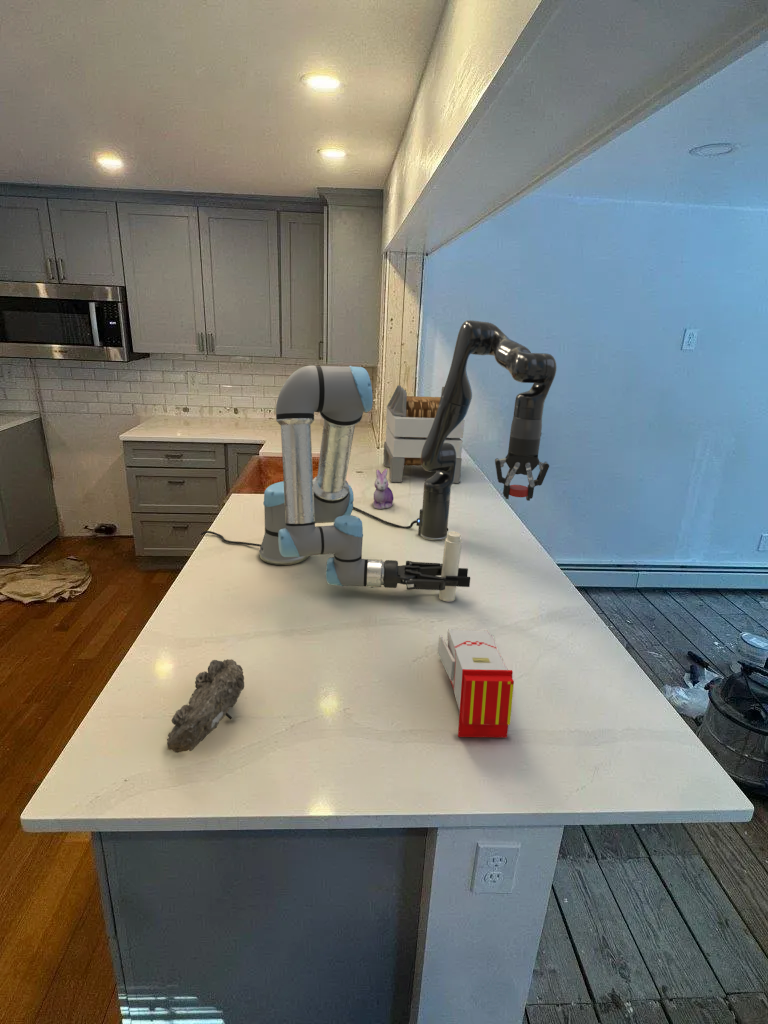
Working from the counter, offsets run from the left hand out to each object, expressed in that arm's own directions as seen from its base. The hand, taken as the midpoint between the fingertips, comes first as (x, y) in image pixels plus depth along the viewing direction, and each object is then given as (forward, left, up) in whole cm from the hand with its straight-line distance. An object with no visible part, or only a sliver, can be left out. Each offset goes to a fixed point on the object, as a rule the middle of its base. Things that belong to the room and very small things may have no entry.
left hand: (468, 577), depth 155 cm
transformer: (-60, +110, -7) cm, 126 cm away
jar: (-5, -2, -7) cm, 8 cm away
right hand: (+9, +6, +23) cm, 25 cm away
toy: (+13, -39, -7) cm, 42 cm away
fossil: (-28, -70, -7) cm, 76 cm away
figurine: (-54, +57, -7) cm, 79 cm away
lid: (+9, +6, +25) cm, 28 cm away
